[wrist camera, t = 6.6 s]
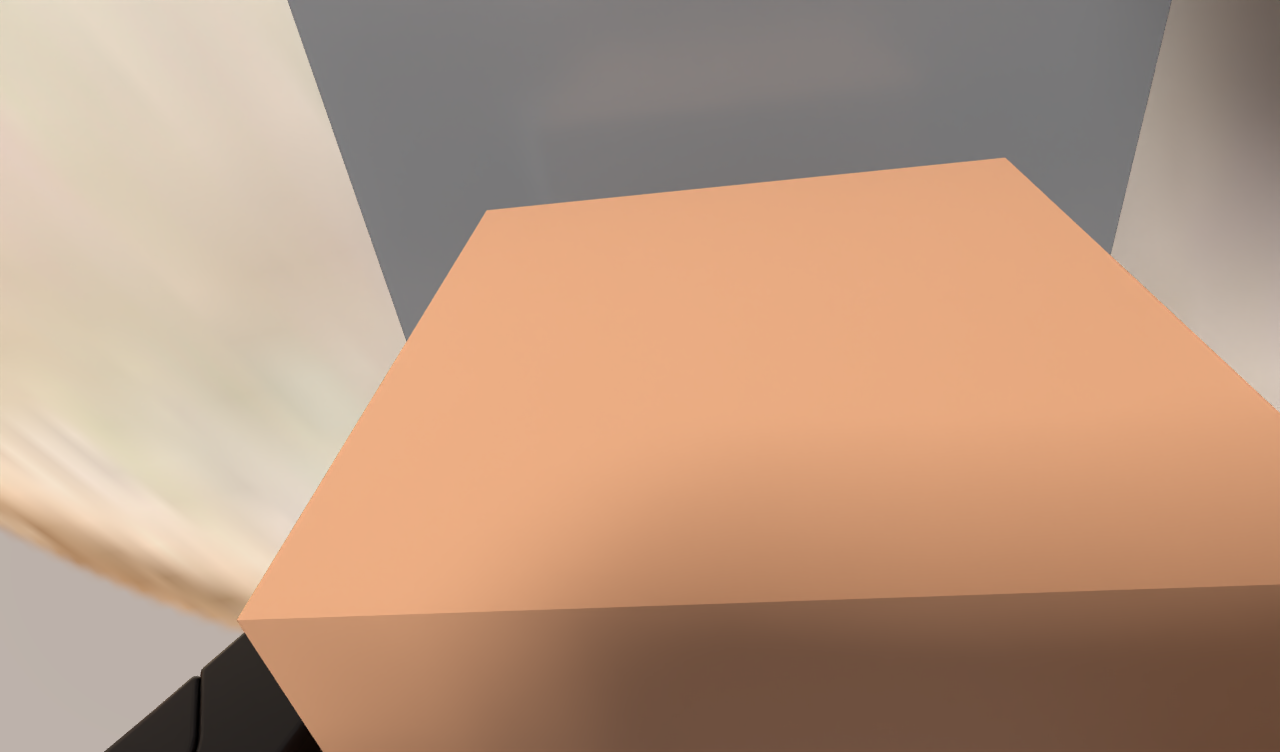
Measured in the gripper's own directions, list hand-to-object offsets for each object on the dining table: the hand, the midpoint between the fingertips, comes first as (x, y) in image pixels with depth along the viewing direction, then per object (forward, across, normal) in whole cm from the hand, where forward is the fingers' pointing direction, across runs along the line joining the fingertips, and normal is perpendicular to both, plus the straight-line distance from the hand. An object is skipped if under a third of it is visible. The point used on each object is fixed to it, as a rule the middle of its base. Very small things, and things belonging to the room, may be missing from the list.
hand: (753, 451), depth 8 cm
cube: (+1, 0, 0) cm, 1 cm away
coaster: (+3, 0, 0) cm, 3 cm away
